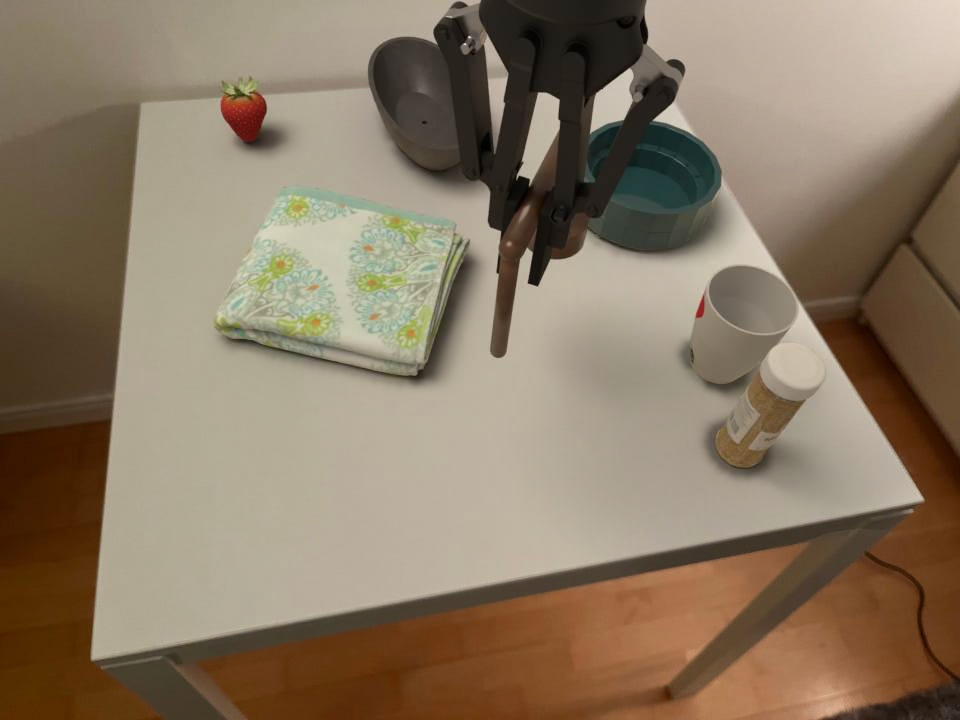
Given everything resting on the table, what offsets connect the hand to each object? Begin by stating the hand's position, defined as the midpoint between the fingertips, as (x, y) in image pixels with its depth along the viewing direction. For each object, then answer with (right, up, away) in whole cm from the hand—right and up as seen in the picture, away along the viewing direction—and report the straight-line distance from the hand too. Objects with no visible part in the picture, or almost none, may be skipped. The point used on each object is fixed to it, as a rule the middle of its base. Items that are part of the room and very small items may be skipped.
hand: (523, 266), depth 51 cm
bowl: (-10, +21, +40) cm, 46 cm away
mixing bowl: (+15, +12, +35) cm, 40 cm away
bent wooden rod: (+1, -1, +6) cm, 6 cm away
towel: (-16, 0, +25) cm, 29 cm away
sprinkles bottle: (+21, -15, +17) cm, 30 cm away
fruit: (-30, +20, +37) cm, 52 cm away
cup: (+20, -7, +22) cm, 31 cm away
